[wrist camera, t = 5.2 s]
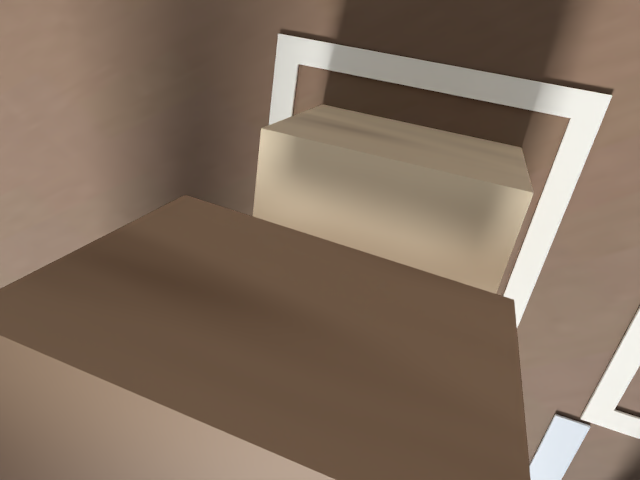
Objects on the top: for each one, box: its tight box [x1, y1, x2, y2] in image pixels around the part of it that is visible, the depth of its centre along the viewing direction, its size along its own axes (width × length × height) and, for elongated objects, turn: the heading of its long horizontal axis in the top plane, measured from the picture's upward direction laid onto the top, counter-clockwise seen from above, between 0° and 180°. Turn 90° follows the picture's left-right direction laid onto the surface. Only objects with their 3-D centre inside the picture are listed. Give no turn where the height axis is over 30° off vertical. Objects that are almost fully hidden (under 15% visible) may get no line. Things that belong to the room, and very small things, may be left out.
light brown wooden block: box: [0, 195, 531, 480], centre depth 7 cm, size 6×6×4 cm
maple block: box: [253, 104, 534, 294], centre depth 15 cm, size 6×6×5 cm
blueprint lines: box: [269, 34, 640, 480], centre depth 17 cm, size 17×23×1 cm
